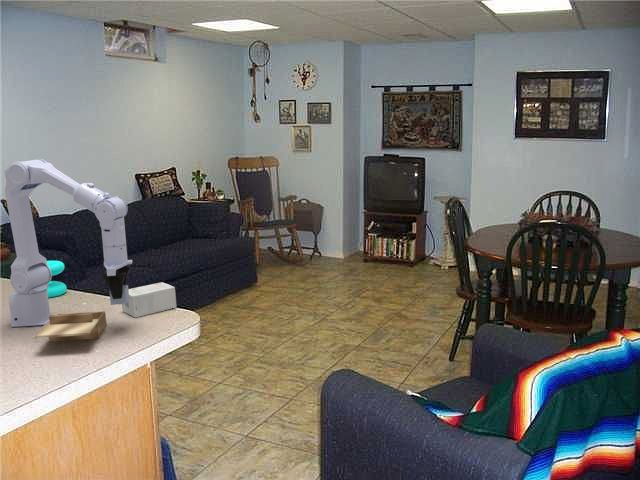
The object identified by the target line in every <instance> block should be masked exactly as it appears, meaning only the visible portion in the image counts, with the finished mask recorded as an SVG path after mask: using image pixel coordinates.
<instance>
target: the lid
mask: <svg viewBox="0 0 640 480" xmlns="http://www.w3.org/2000/svg"><path fill="white" fill-rule="evenodd" d="M82 313H83V314H67V313H64V314H65V315H58V314H50V316H49V320H50V322H47V323H46V324H45V325H42V327H41V329H40V330H39V331H38V332H37V333H36V334H35V335H34V338H35V339H37V338H40V339H43V338H49V337H60V336H77V335H90V333H91V332H92V330H93V329H94V327H95V326H96V324H97V323H98V321H99V319H93V318H92V313H85V312H82Z"/></svg>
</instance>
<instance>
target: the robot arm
mask: <svg viewBox="0 0 640 480" xmlns="http://www.w3.org/2000/svg"><path fill="white" fill-rule="evenodd" d="M4 176H5V177H4V178H5V187H4V194H5V200H6V204H7V205H6V207H7V209H8V210H7V211H8V215H9V216H8V217H9V222H10V227H11V232H12V236H13V237H12V238H13V242H14V248H15V254H16V257H15V259H14V261H13V262H12V264H11V265H10V270H11V273H10V278H9V279H10V285H11V286H12V287H11V288H13V290H14V291H12V292H11V293H10V295H9V301H8V302H9V303H8V304H9V305H8V306H9V313H10V320H11V324H10V327H11V328H17V327H19V328H20V327H33V326H44V325H45V324H46V323H47V322H50V320H49V316H50V315H51V312H50V310H51V309H50V302H49V298H48V292H47V287H48V283H49V282H50V281H52V277H53V276H52V272H51V269H50V268H49V266H48V264H47V261H48V260H47V258H46V257H45V256H44V255H42V254H40V252H39V247H38V246H39V245H38V242H37V241H38V240H37V235H36V230H35V223H34V218H33V212H32V208H31V202H30V196H31V194H32V193H33V192H34V190H35V189H36V188H37V187H39V186H40V185H43V184H49V185H50V186H53V187H55V188H57V189H58V190H61V191H63V192H65V193H67V194H69V195H71V196H72V197H73V201H74V203H76V204H78V205H79V206H81V207H83V208H85V209H87V210H88V211H90V212H92V213H94V215H95V217H96V218H97V220H98V222H99V227H100V228H101V229H100V230H101V239H102V251H103V259H104V260H103V267H104V268H105V269H106V271H103V273H102V278H103V279H104V280H105V282H106V284H107V286H108V289H109V290H110V291H109V293H110V292H111V295H112V297H113V299H121V298H122V293H123V285H127V278H128V274H129V271H130V269H131V265H132V264H133V259H128V250H127V238H126V228H125V227H126V226H125V225H126V224H125V217H126V216H127V214H128V210H129V208H128V204H127V202H126V201H125V199H123V198H122V197H121V195H120V196H119V195H114V196H111V193H109V192H107V191H106V192H104V191H103V190H101V189H99V188H97V187H95V186H96V185H95V184H94V183H92V182H83V183H79V182H77V181H76V180H74V179H72V178H71V177H69V176H68V175H66V174H65V173H64V172H62V171H60V170H58V169H57V168H55V167H54V165H53V164H52V163H51V162H48V161H46V160H45V159H43V158H35V159H32V160H31V159H30V160H25V161H24V160H23V161H13V162H11V163H10V164H9V166H8V167H6V169H5V170H4Z"/></svg>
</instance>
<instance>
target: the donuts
mask: <svg viewBox="0 0 640 480" xmlns="http://www.w3.org/2000/svg"><path fill="white" fill-rule="evenodd" d="M46 261H47V264H48V266H49V268H50V269H51V272H52V277H53V276H57V275H59V274H61V273H63V271H64V270H65V267H66V266H65V263H64V262H62V261H60V260H46ZM66 291H67V284H65V283H64V282H62V281H57V280H51V281H50V282H49V283H48V287H47V292H48V299H49V298H56V297H59V296H62V295H64V294H65V293H66Z"/></svg>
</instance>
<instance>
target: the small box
mask: <svg viewBox="0 0 640 480" xmlns="http://www.w3.org/2000/svg"><path fill="white" fill-rule="evenodd" d="M128 290H129V301H128V303H127V304H121V309H122V312H123V313H125V314H127V315H129V316H130V317H133V318H140V317H143V316H147V315H153V314H155V313H161V312H163V311H168V310H173V309H176V308H177V297H176V287H175V286H172V285H170V284H168V283H165V282H161V281H160V282H157V283H152V284H148V285H147V284H146V285H142V286H138V287H133V288H128ZM172 308H173V309H172Z"/></svg>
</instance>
